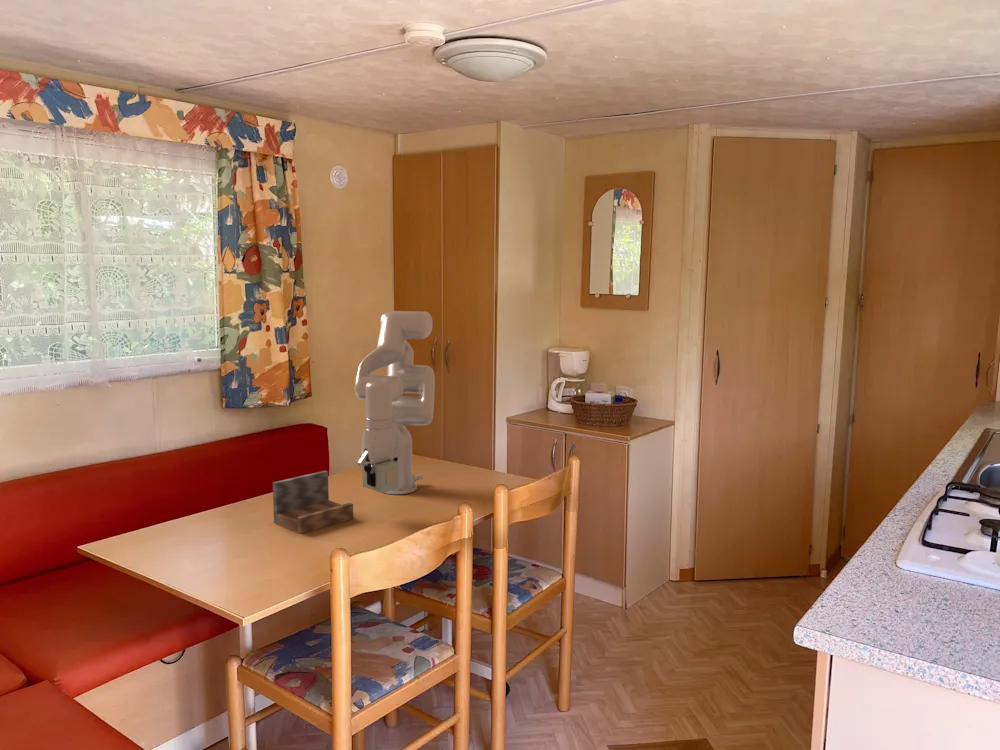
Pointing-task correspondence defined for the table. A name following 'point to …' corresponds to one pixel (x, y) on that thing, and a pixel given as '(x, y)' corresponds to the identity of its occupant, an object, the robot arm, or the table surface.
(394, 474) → the mini block
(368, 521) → the table surface
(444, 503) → the table surface
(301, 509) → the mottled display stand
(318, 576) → the table surface
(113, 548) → the table surface
